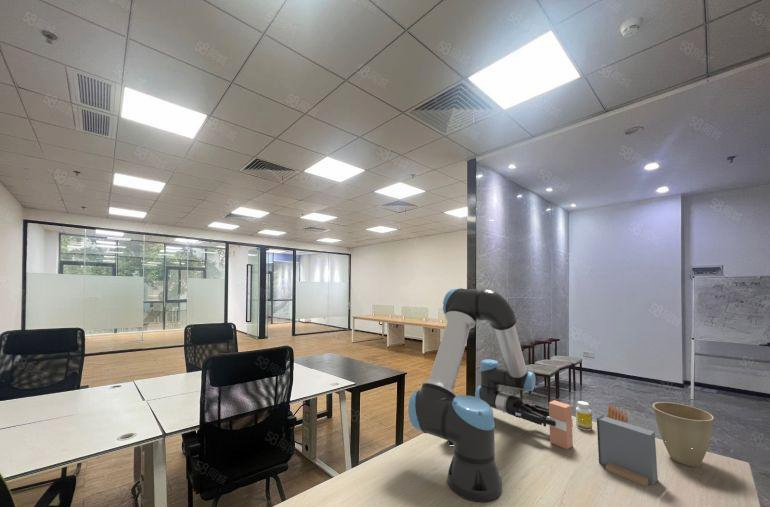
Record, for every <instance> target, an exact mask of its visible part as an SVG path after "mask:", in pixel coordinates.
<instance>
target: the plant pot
mask: <svg viewBox="0 0 770 507" xmlns="http://www.w3.org/2000/svg"><path fill="white" fill-rule="evenodd" d="M652 408H653V409H652V410H653V413H654V418H655V421H656V425H657V428H658V431H659V435H660V437H661V439H662V442H663V444H664V447H665V449H666V451H667V453H668V455H669V457H670V459H672V460H673V461H674V462H678V463H679V464H682V465H685V466H688V467H695V468H697V467H700V466H701V465H702V463H703V461H704V458H705V456H706V455H707V454H706V453H707V451H708V448H709V444H710V442H711V438H712V434H713V433H712V432H713V427H714V416H713V415H712V414H711V413H710V412H707V411H705V410H704V409H700V408H698V407H694V406H692V405H687V404H683V403H682V404H681V403H677V402H668V401H667V402H666V401H662V402H661V401H659V402H654V403H653V404H652ZM665 441H666V442H665ZM691 448H693V449H691Z"/></svg>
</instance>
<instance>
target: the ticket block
mask: <svg viewBox="0 0 770 507" xmlns="http://www.w3.org/2000/svg"><path fill="white" fill-rule="evenodd" d="M596 428H597V430H596V432H597V450H598V451H597V452H598V463H599V464H601V465H603V466H605V470H606V471H608V472H611V473H613V474H615V475H618V476H620V477H622V478H626V479H627V480H630V481H631V482H634V483H637V484H639V485H642V486H644V487H647V486H648V485H649V484H650V485H652V486H654V485H655V484H656V483H657V481H658V480H659V479H658V466H657V465H658V463H657V462H658V461H657V447H656V434H655V433H656V431H653V430H649V429H647V428H643V427H640V426H637V425H635V424H631V423H629V422H628V423H625V422H621V421H618V420H615V419H611V418H608V417H607V416H605V415H603V414H601V415H600V416H598V417H597V418H596Z"/></svg>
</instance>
